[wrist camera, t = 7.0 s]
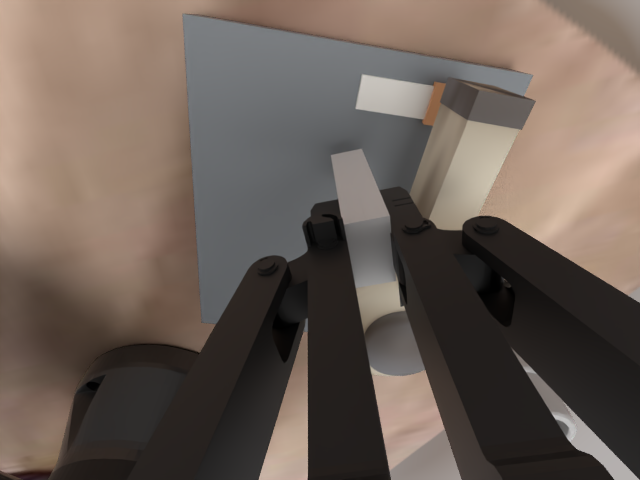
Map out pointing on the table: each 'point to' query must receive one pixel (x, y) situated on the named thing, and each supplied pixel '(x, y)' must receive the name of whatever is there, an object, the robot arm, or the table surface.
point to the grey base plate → (297, 133)
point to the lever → (444, 201)
